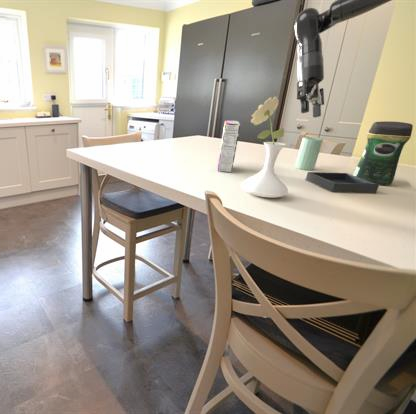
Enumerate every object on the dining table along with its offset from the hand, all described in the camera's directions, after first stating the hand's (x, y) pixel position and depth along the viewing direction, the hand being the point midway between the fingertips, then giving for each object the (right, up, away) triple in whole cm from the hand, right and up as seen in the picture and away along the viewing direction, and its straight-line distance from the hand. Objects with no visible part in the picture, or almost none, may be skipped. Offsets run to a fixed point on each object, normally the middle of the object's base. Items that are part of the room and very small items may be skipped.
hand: (311, 114), depth 99 cm
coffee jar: (+13, -24, -8) cm, 29 cm away
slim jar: (+2, -18, +7) cm, 19 cm away
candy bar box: (-29, -19, +4) cm, 35 cm away
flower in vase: (-30, -29, -22) cm, 47 cm away
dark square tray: (-2, -26, -14) cm, 29 cm away
